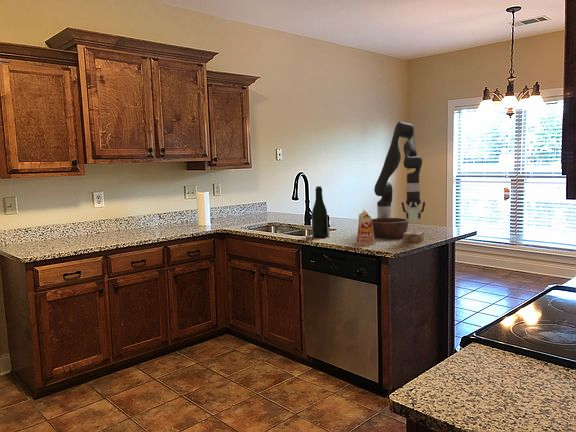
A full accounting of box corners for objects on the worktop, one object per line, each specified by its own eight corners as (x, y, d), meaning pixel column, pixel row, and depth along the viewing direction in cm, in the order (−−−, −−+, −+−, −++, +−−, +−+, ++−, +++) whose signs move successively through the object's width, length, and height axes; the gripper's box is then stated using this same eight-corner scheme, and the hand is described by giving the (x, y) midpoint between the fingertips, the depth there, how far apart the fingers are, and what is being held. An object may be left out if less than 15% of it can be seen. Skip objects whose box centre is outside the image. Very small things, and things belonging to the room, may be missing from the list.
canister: (408, 222, 282) (408, 207, 281) (408, 221, 288) (408, 206, 287) (418, 222, 281) (418, 207, 280) (418, 221, 286) (418, 206, 285)
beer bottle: (315, 235, 319) (313, 185, 316) (330, 235, 316) (328, 185, 312) (310, 238, 310) (308, 186, 306) (325, 238, 306) (324, 186, 302)
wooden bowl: (409, 239, 292) (409, 222, 291) (368, 239, 297) (367, 223, 295) (407, 232, 316) (407, 217, 315) (368, 233, 321) (368, 217, 320)
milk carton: (356, 242, 287) (355, 209, 285) (371, 241, 288) (370, 208, 285) (359, 245, 278) (358, 211, 276) (375, 244, 279) (374, 210, 276)
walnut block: (403, 242, 284) (403, 233, 283) (406, 239, 292) (406, 231, 292) (420, 243, 279) (420, 234, 278) (423, 240, 288) (423, 231, 287)
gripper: (400, 191, 281) (400, 220, 283) (425, 190, 277) (426, 219, 279) (400, 190, 288) (401, 218, 290) (425, 189, 284) (426, 218, 286)
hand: (413, 219), depth 284 cm, fingers closed on canister, 5 cm apart
